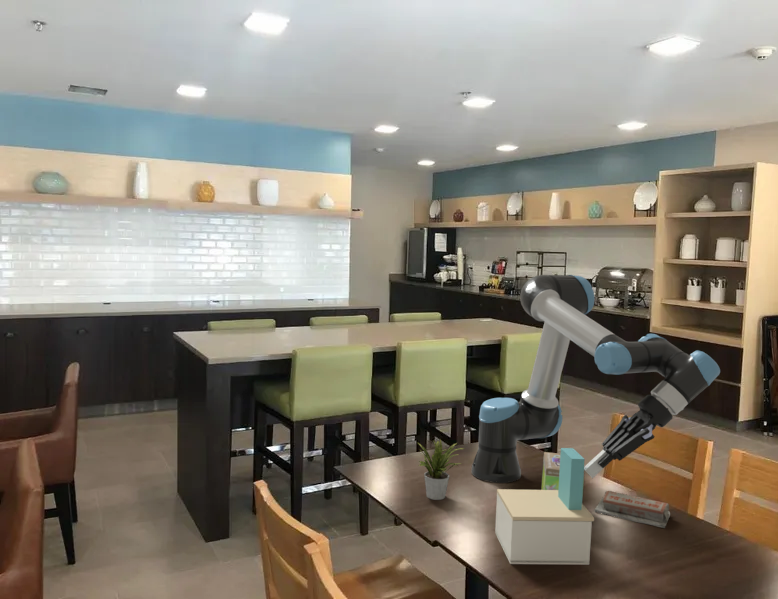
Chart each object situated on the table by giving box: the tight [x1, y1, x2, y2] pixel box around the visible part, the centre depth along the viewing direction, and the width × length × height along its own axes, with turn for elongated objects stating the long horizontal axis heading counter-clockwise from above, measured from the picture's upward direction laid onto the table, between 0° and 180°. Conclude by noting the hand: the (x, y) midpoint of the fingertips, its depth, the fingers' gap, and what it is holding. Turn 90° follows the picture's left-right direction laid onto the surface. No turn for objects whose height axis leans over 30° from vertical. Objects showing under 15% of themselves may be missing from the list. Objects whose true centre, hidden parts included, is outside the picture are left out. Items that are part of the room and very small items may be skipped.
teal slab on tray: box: [496, 447, 595, 522], centre depth 154 cm, size 18×16×13 cm
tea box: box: [540, 451, 585, 499], centre depth 175 cm, size 15×10×15 cm
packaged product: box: [594, 490, 671, 529], centre depth 178 cm, size 18×5×10 cm
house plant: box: [417, 438, 465, 501], centre depth 184 cm, size 14×14×16 cm
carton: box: [494, 493, 593, 566], centre depth 155 cm, size 18×16×10 cm
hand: (587, 473), depth 154 cm, fingers closed
